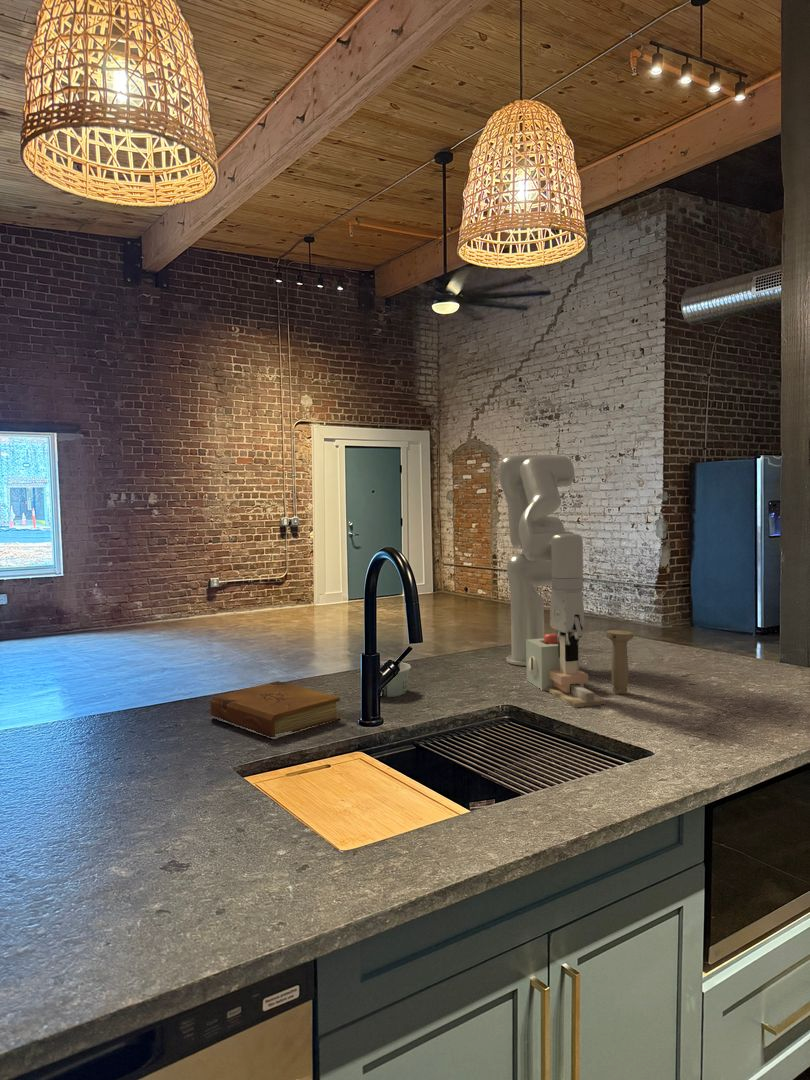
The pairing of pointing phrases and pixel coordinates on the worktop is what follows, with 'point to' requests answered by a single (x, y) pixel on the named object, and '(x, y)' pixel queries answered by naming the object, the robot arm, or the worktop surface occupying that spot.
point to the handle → (619, 659)
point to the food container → (397, 682)
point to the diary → (275, 708)
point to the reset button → (550, 638)
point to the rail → (577, 696)
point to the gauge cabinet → (542, 662)
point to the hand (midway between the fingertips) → (568, 658)
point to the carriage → (567, 671)
